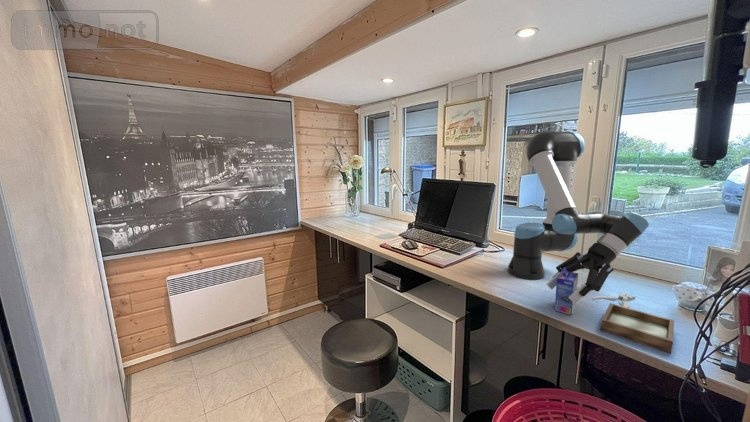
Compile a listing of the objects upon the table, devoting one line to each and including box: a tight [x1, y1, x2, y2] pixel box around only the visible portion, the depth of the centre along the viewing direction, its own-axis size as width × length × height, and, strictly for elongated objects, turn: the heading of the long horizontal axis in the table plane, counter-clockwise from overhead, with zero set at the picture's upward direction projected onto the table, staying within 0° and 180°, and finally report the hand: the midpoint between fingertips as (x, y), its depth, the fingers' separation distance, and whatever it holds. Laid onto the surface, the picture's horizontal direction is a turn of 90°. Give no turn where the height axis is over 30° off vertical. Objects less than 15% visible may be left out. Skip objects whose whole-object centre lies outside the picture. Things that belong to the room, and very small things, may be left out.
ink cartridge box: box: [554, 267, 579, 316], centre depth 103 cm, size 10×6×14 cm, turn 139°
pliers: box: [592, 292, 636, 308], centre depth 109 cm, size 10×2×15 cm
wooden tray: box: [599, 302, 675, 354], centre depth 90 cm, size 16×16×4 cm
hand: (559, 293), depth 103 cm, fingers closed on ink cartridge box, 10 cm apart
